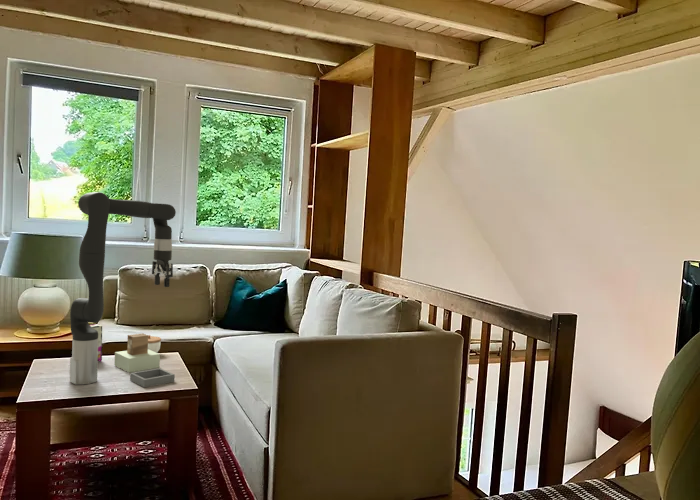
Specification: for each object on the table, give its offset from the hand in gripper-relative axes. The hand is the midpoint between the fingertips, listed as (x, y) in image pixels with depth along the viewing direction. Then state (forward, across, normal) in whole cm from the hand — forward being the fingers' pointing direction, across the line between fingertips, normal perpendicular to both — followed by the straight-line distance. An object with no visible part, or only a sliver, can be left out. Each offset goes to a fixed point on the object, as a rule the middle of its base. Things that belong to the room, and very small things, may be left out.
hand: (161, 285), depth 251 cm
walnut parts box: (+30, +5, +8) cm, 32 cm away
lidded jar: (+36, +22, -6) cm, 43 cm away
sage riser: (+36, +5, +8) cm, 37 cm away
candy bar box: (+36, +24, +22) cm, 49 cm away
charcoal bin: (+36, -19, +13) cm, 43 cm away
